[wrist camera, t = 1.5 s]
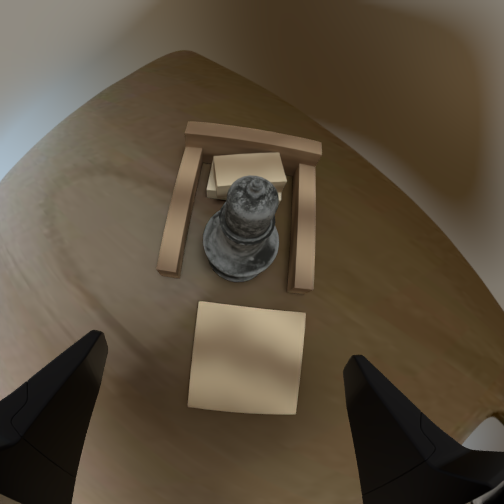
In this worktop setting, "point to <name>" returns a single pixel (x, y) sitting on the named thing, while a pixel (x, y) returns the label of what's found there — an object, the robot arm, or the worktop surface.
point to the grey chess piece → (243, 230)
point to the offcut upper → (247, 170)
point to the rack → (246, 142)
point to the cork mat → (246, 359)
